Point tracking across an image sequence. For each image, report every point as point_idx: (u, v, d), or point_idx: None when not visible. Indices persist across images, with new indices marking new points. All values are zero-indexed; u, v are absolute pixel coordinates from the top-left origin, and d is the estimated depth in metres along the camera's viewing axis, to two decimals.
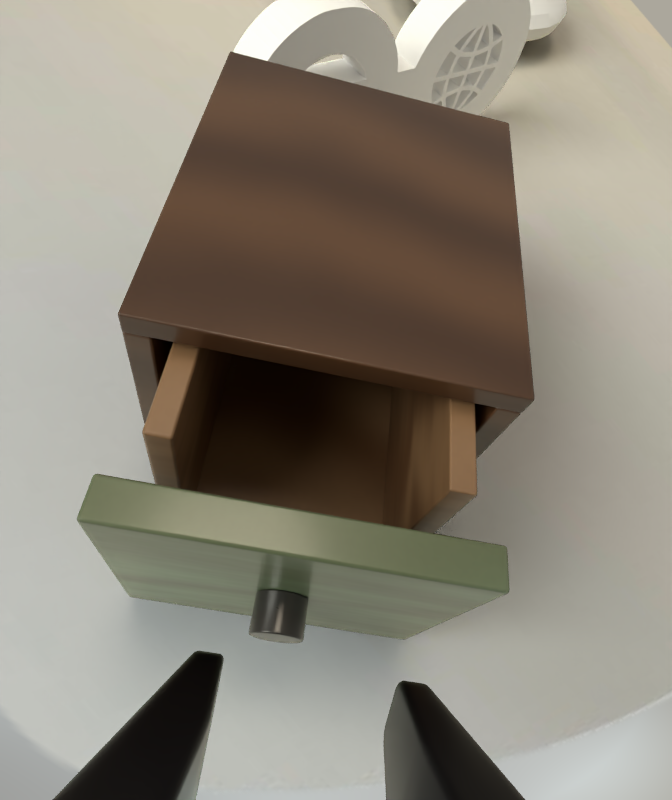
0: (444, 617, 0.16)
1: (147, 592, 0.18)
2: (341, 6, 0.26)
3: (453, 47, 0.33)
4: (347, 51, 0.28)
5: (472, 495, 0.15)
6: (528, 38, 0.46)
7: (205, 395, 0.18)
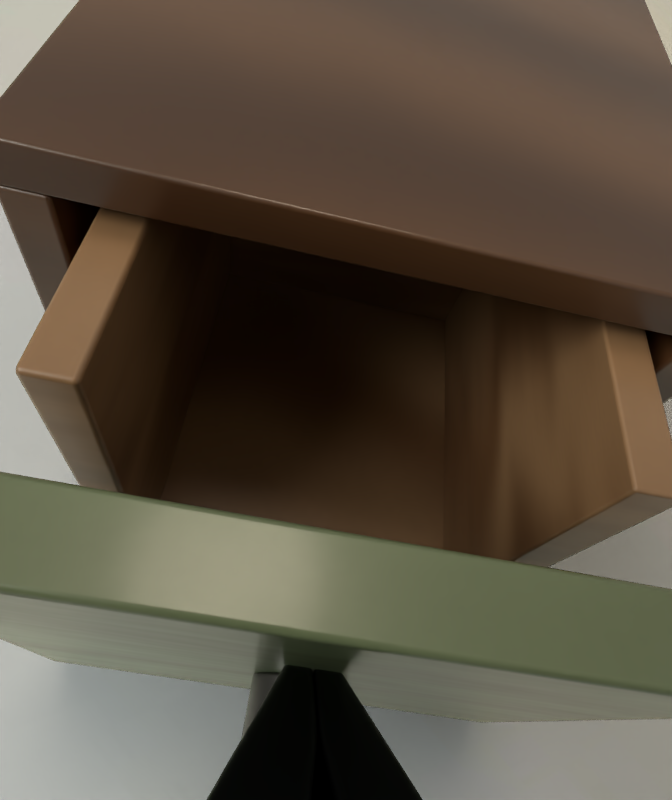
0: (589, 719, 0.09)
1: (75, 659, 0.11)
2: None
3: None
4: None
5: None
6: None
7: (170, 335, 0.11)
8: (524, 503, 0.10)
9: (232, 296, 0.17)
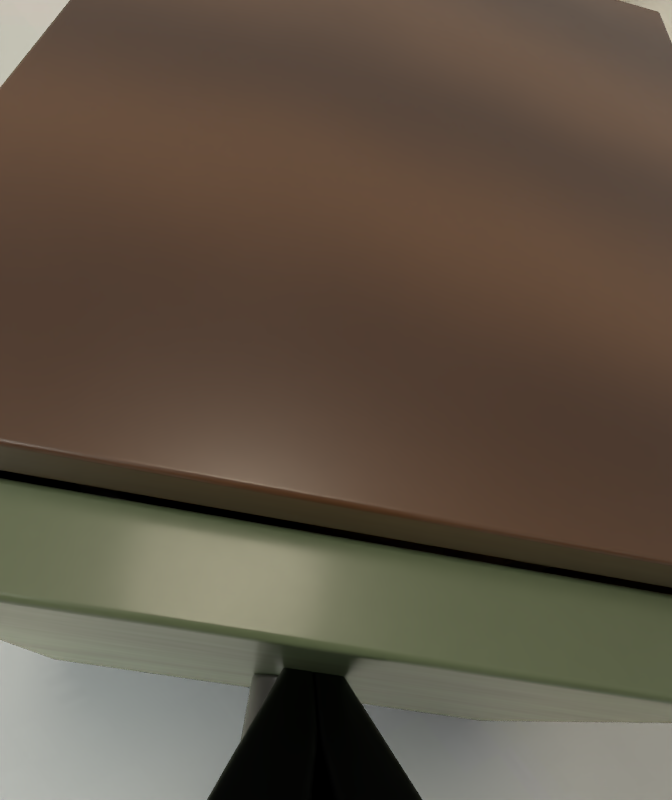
0: (590, 720, 0.09)
1: (75, 658, 0.11)
2: None
3: None
4: None
5: None
6: None
7: None
8: None
9: None
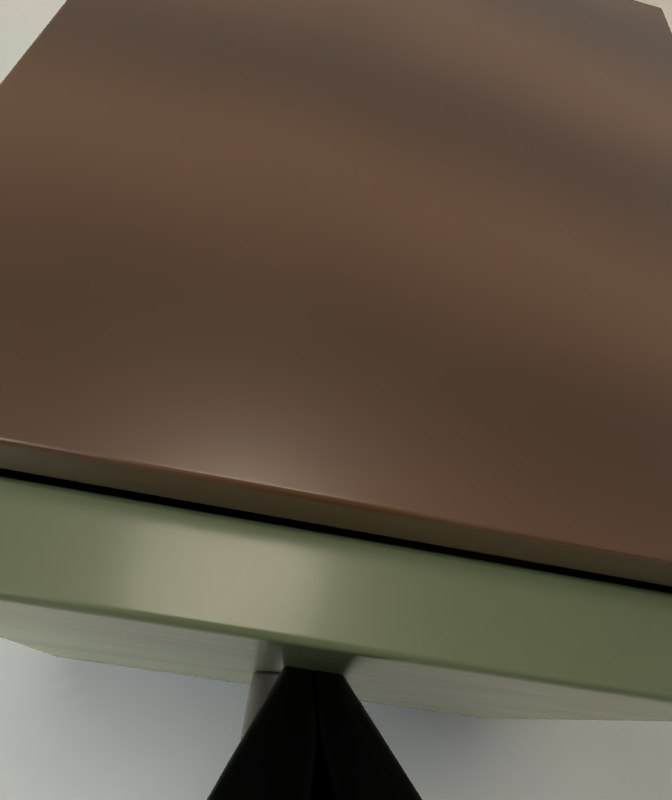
0: (589, 718, 0.09)
1: (75, 655, 0.11)
2: None
3: None
4: None
5: None
6: None
7: None
8: None
9: None
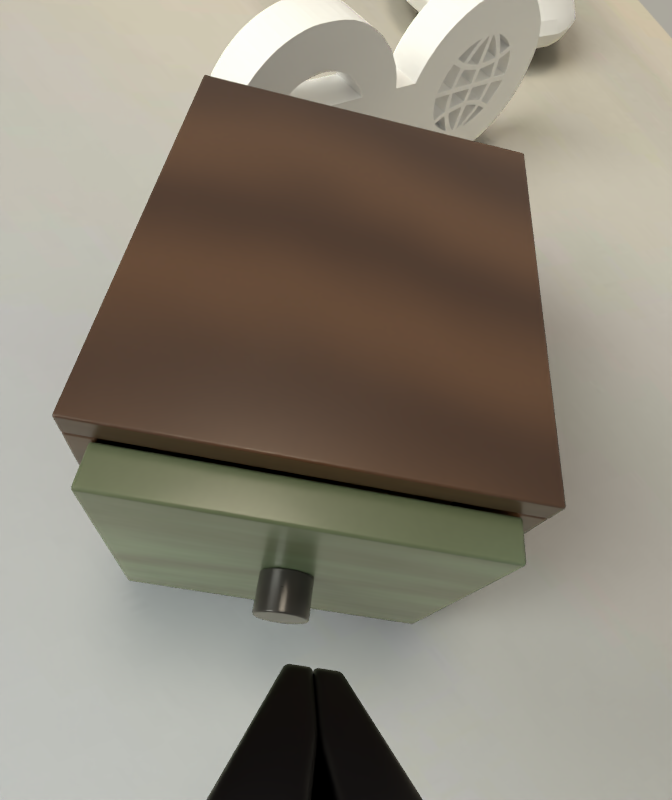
0: (455, 596, 0.16)
1: (146, 574, 0.18)
2: (333, 19, 0.23)
3: (457, 60, 0.30)
4: (340, 68, 0.25)
5: None
6: None
7: None
8: None
9: None
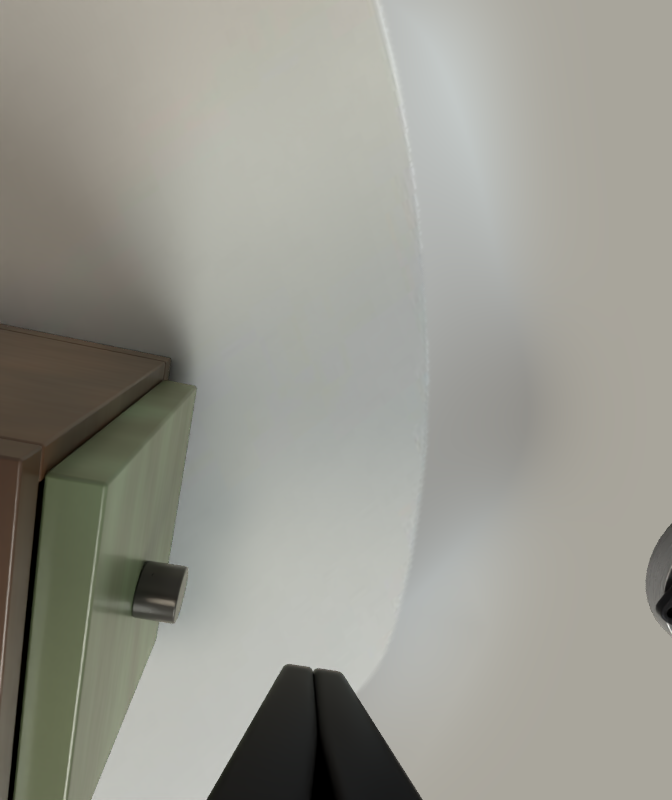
0: (158, 438, 0.14)
1: (148, 646, 0.20)
2: None
3: None
4: None
5: None
6: None
7: None
8: None
9: None
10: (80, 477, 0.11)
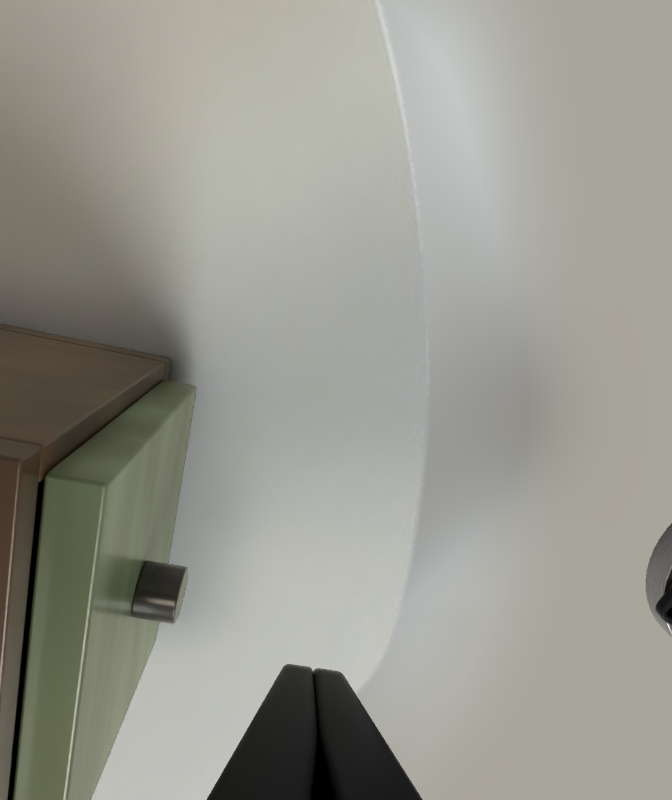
0: (158, 438, 0.14)
1: (148, 647, 0.20)
2: None
3: None
4: None
5: None
6: None
7: None
8: None
9: None
10: (80, 477, 0.11)
